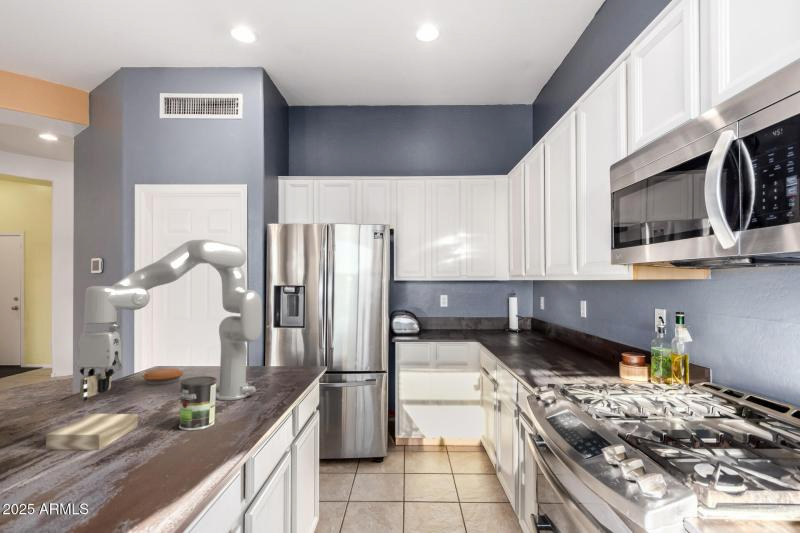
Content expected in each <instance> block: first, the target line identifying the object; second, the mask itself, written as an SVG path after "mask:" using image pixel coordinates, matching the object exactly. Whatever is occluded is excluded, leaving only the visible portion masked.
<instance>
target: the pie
mask: <svg viewBox="0 0 800 533" xmlns="http://www.w3.org/2000/svg"><path fill="white" fill-rule="evenodd" d="M183 375H184V371H183V370H180V369H178V368H161V369H154V370H151V371H148V372H147V373H145V374H143V375H142V378H143V379H144V380H145V381H146V383H147V384H148V385H150V386H166V385H171V384H174V383H177V382H178V381H179V379H180V378H181V376H183Z"/></svg>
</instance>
